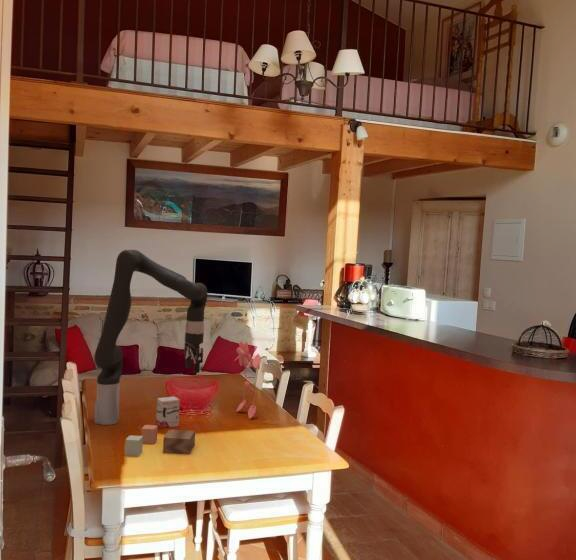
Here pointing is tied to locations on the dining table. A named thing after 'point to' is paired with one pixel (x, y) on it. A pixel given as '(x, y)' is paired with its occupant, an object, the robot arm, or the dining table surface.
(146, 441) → the terracotta block
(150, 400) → the dining table surface
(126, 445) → the sage block
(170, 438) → the walnut block
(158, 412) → the ink box
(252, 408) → the pink artificial flower
